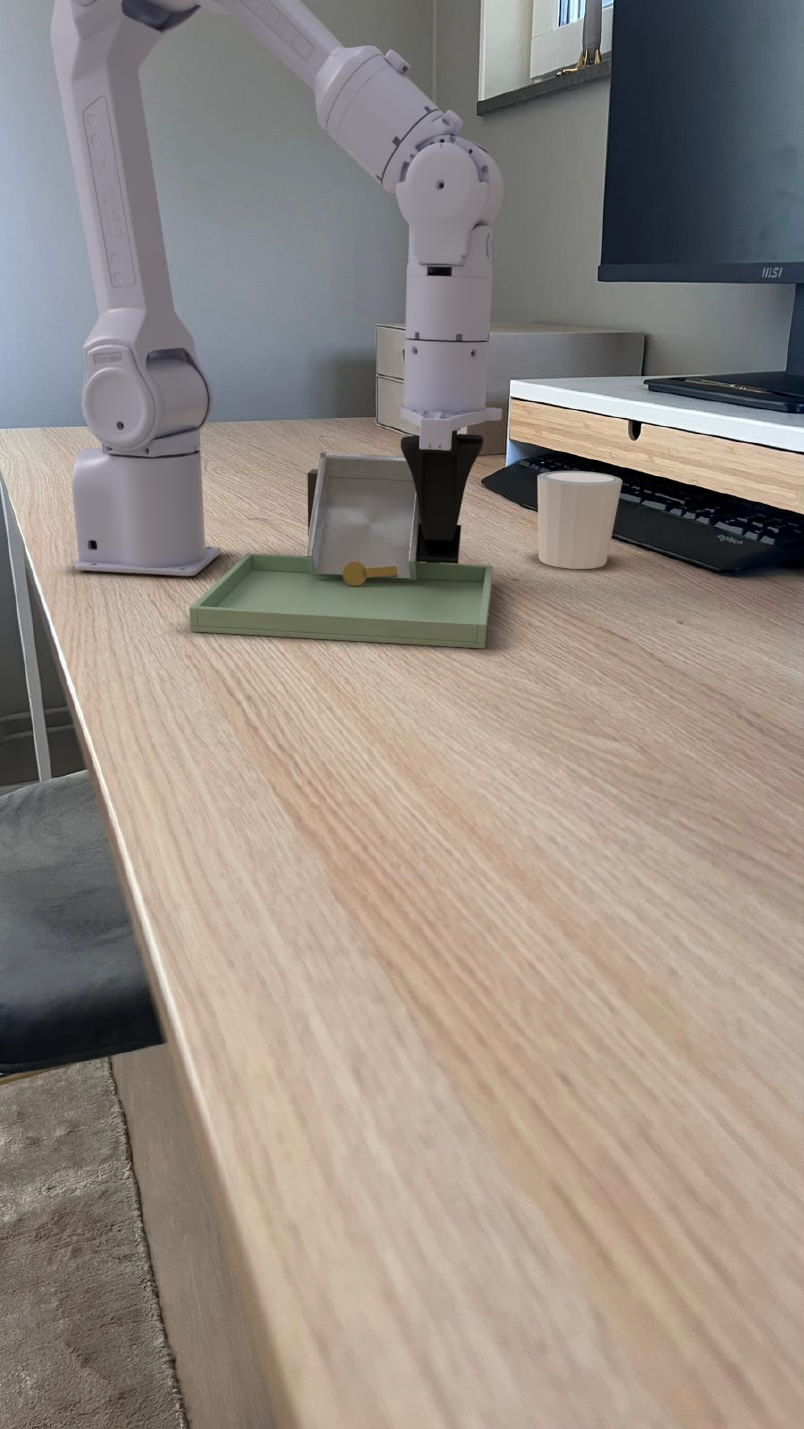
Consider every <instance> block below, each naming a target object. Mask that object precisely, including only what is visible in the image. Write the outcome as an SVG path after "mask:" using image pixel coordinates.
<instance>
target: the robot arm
mask: <svg viewBox="0 0 804 1429" xmlns="http://www.w3.org/2000/svg"><path fill="white" fill-rule="evenodd" d="M204 9H206V10H207V11H209V12H211V13H213V14H215V15H216V16H217V15H218V16H226V15H231V17H233V19H235V20H236V21H237V22H238V23H239V24H240V25H241V26H243V27H244V28H245V29H246V31H248V32H249V33H250V34H251V35H253V36H254V38H256V39H257V40H258V41H259V42H260V43H261V44H262V45H264V47H266V48H267V49H268V50H269V51H270V52H271V53H272V54H273V55H274V56H276V58H278V59H279V60H280V61H281V62H282V63H283V64H284V65H285V66H287V67H288V69H290V70H291V71H292V72H293V73H294V74H295V75H296V76H298V78H299V79H301V80H302V81H303V82H304V83H305V84H306V85H308V87H310V88H311V89H312V90H313V94H314V102H315V110H316V117H317V122H318V124H319V126H320V127H321V129H323V131H325V132H326V134H328V135H329V136H330V137H331V138H332V139H333V141H335V142H336V143H337V144H338V145H339V146H340V147H341V148H342V149H343V150H344V151H345V152H346V153H347V154H348V155H349V156H350V157H351V158H352V159H353V160H354V161H355V162H356V163H358V165H359V166H360V167H362V168H363V170H364V171H365V172H367V173H368V174H369V175H370V176H371V177H372V178H373V179H374V180H375V181H376V182H377V183H378V184H379V185H380V186H381V187H382V188H383V189H384V190H385V191H386V192H387V193H388V194H392V195H395V196H396V197H395V198H396V202H397V205H398V208H399V211H400V212H401V215H402V217H403V219H405V221H406V223H407V224H408V225H409V226H408V255H407V256H408V261H407V265H406V286H405V287H406V290H405V326H404V327H405V331H404V332H405V333H404V336H405V337H404V362H403V364H404V366H403V396H402V397H403V399H402V401H403V403H402V405H400V407H399V415H400V416H399V417H400V419H401V420H404V421H406V422H408V423H409V424H411V425H413V426H416V427H417V428H419V435H409V436H408V435H407V436H403V437H402V438H401V439H400V450H401V452H402V456H404V457H405V459H406V461H407V463H408V466H409V468H410V471H411V474H412V477H413V481H414V484H415V489H416V494H417V500H418V507H419V515H420V521H421V527H422V532H423V536H424V539H427V540H447V541H452V539H453V537H454V534H455V530H456V527H457V525H458V524H459V519H460V514H461V508H462V504H463V498H464V494H465V489H466V485H467V481H468V478H469V475H470V473H471V471H472V468H473V466H474V464H475V462H476V461H477V458H478V457H479V455H480V452H481V451H482V449H483V445H484V436H483V435H480V434H472V433H470V434H469V433H458V432H460V431H461V430H462V428H466V427H470V426H474V425H477V424H482V423H485V422H487V421H490V422H491V421H492V422H493V421H494V422H497V421H501V420H502V418H503V417H502V415H503V408H501V407H488V406H486V402H487V382H488V367H489V366H488V363H489V362H488V361H489V350H490V349H489V348H490V341H489V340H490V333H491V332H490V330H491V312H492V310H491V309H492V296H493V295H492V294H493V293H492V292H493V276H494V268H493V265H492V261H493V260H492V257H493V249H494V228H493V227H492V226H493V225H494V224H495V222H496V221H497V220H498V218H499V216H500V213H501V211H502V208H503V206H504V202H505V200H504V199H505V182H504V178H503V175H502V172H501V169H500V168H499V166H498V164H497V163H496V161H495V159H493V157H491V153H490V151H489V150H488V148H486V147H485V146H483V145H481V144H479V143H476V142H473V141H468V140H466V139H464V138H462V137H460V136H459V135H460V132H459V131H460V130H461V129H462V127H463V126H464V121H463V119H461V118H460V117H459V115H458V114H457V113H456V112H454V111H453V110H452V109H448V110H447V111H446V112H445V113H444V112H443V111H442V109H440V108H439V107H438V106H437V105H436V104H435V103H434V102H433V101H432V99H430V98H429V97H428V96H427V95H426V94H425V93H424V92H423V91H422V90H421V89H420V88H419V87H418V86H417V85H416V84H415V83H414V82H413V81H412V80H411V79H410V78H409V77H407V75H408V73H409V72H410V70H411V65H410V64H409V63H408V62H407V61H406V60H405V59H404V58H403V57H402V56H401V55H400V54H399V53H397V52H396V51H395V50H394V49H389V50H388V51H387V53H386V54H384V53H383V52H382V51H381V49H379V48H378V47H377V46H375V45H369V44H368V45H361V46H354V47H345V46H344V45H343V44H342V43H341V41H339V40H338V39H337V38H336V37H335V35H334V34H333V33H332V32H331V31H330V30H329V28H327V26H325V25H324V24H323V23H322V22H321V21H320V20H319V18H318V17H317V16H316V15H314V13H313V12H312V11H311V10H310V9H309V8H308V6H306V5H305V4H304V3H303V2H302V1H301V0H54V4H53V10H52V16H51V23H50V31H49V32H50V44H51V45H50V46H51V51H52V56H53V62H54V67H55V73H56V80H57V85H58V90H59V96H60V102H61V107H62V113H63V119H64V124H65V131H66V136H67V141H68V147H69V153H70V158H71V165H72V171H73V175H74V176H73V177H74V181H75V187H76V192H77V198H78V204H79V209H80V215H81V222H82V227H83V233H84V238H85V244H86V249H87V254H88V256H87V257H88V262H89V266H90V271H91V272H90V274H91V279H92V283H93V284H92V285H93V289H94V295H95V300H96V305H97V312H98V318H97V321H96V323H95V324H94V326H93V328H92V330H91V332H90V333H89V335H88V337H87V338H86V339H85V342H84V344H83V346H82V353H83V359H84V367H85V369H84V370H85V371H84V380H83V384H82V388H81V393H80V406H81V412H82V416H83V418H84V421H85V423H86V425H87V427H88V429H89V431H90V432H91V433H92V434H93V436H94V437H95V438H96V439H97V440H98V441H99V442H100V447H101V448H97V447H91V448H90V447H89V448H85V449H82V450H81V451H80V452H79V453H78V455H77V456H76V458H75V461H74V464H73V469H72V477H71V478H72V479H71V488H72V489H71V493H72V503H73V512H74V523H75V534H76V535H75V536H76V544H77V555H78V561H77V562H76V563H75V570H77V571H89V572H105V573H106V572H107V573H122V574H123V573H125V574H142V575H143V574H144V575H159V576H160V575H163V576H181V577H193V576H196V575H198V573H199V572H201V571H203V569H204V568H206V567H207V566H208V565H209V564H210V563H212V561H214V560H215V559H216V558H217V557H218V556H219V555H221V554H222V548H221V547H218V546H206V537H205V533H206V532H205V515H204V514H205V513H204V512H205V511H204V494H203V474H202V472H203V471H202V452H201V446H202V445H201V430H202V429H203V428H205V426H206V425H207V423H209V420H210V418H211V415H212V413H213V408H214V393H213V388H212V384H211V381H210V379H209V377H208V375H207V373H206V372H205V371H204V369H203V367H202V366H201V364H200V361H199V359H198V356H197V350H196V345H195V339H194V337H193V335H192V334H191V333H190V331H189V329H188V328H187V327H186V326H185V324H184V322H183V321H182V320H181V319H180V317H179V315H178V314H177V312H176V311H175V306H174V299H173V292H172V287H171V280H170V279H171V278H170V272H169V266H168V260H167V253H166V246H165V238H164V234H163V227H162V220H161V213H160V208H159V201H158V193H157V187H156V180H155V176H154V168H153V161H152V155H151V147H150V142H149V134H148V129H147V128H148V127H147V122H146V116H145V109H144V102H143V95H142V89H141V82H140V76H139V71H140V70H139V69H140V67H141V66H142V64H143V63H144V62H145V60H146V59H147V58H148V56H149V55H150V54H151V52H152V51H153V50H154V48H155V47H156V45H158V44H159V43H160V42H161V41H163V40H164V39H165V38H167V37H169V36H170V35H171V34H173V33H174V32H175V31H176V30H178V29H179V28H180V27H182V26H184V25H185V24H186V23H188V22H189V21H190V20H191V19H193V18H195V16H197V15H198V14H200V13H201V12H202V11H203V10H204Z"/></svg>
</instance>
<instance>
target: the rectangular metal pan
mask: <svg viewBox="0 0 804 1429" xmlns="http://www.w3.org/2000/svg"><path fill="white" fill-rule="evenodd" d="M317 469H318V475H317V481H316V488H315V495H314V502H313V509H312V515H311V522H310V529H309V536H308V535H307V544H306V550H305V556H306V559H307V562H308V566H309V569H310V572H311V576H321V577H340V578H343V574H342V573H343V569H344V567H345V566H346V565H347V564H348V563H350V562H353V561H356V562H360V563H362V564H363V565H364V566H365V568H374V567H387V566H396V567H397V575H396V576H383V577H370V578H366V579H378V580H396V581H415V582H417V579H418V569H419V562H434V563H445V564H459V561H460V549H461V539H462V538H461V536H462V524H457V527H456V530H455V534H454V537H453V539H452V541H447V540H427V539H424V536H423V532H422V527H421V521H420V515H419V507H418V500H417V494H416V489H415V484H414V481H413V477H412V474H411V471H410V468H409V466H408V463H407V461H406V459H405V457H404V455H389V454H365V453H364V454H363V453H344V452H343V453H342V452H320V454H319V462H318V468H317Z"/></svg>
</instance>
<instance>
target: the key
mask: <svg viewBox="0 0 804 1429" xmlns="http://www.w3.org/2000/svg"><path fill="white" fill-rule="evenodd" d="M342 574H343V579H344V580H345V582H346V583H347V584H349V585H351V586H359V585H361V584H363V583H364V581H365V580H366V578H370V577H383V576H396V575H397V567H396V566H387V567H374V568H365V566H364V565H363V564H362V563H360V562H356V561H353V562H350V563H348V564H347V565H346V566H345V567H344V569H343V573H342Z"/></svg>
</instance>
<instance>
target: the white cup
mask: <svg viewBox="0 0 804 1429" xmlns="http://www.w3.org/2000/svg"><path fill="white" fill-rule="evenodd" d="M622 485H623V480H622V479H621V478H620V477H619V476H615V475H612V474H607V473H601V472H595V471H583V470H557V471H556V470H555V471H547V472H542V473H539V474H538V475H537V523H538V524H537V526H538V527H537V528H538V530H537V531H538V533H537V534H538V535H537V536H538V538H537V539H538V559H539V562H540V563H543V564H545V565H547V566H551V567H555V568H562V569H568V570H569V569H570V570H588V569H589V570H590V569H598V568H601V567H604V566H605V565H606V564H607V561H608V556H609V551H610V546H611V541H612V536H613V531H614V526H615V521H616V516H617V511H618V507H619V500H620V495H621V490H622Z"/></svg>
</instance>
